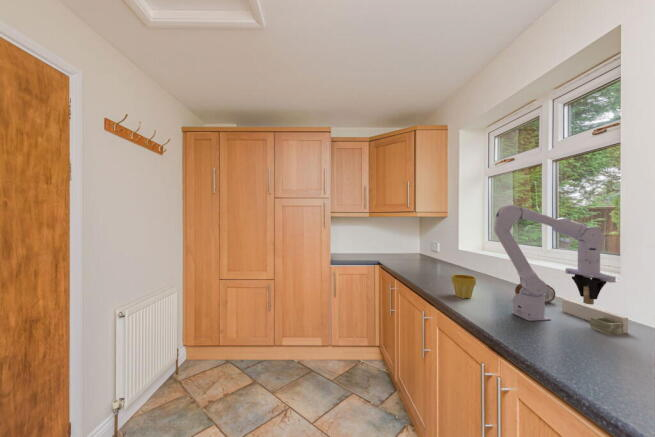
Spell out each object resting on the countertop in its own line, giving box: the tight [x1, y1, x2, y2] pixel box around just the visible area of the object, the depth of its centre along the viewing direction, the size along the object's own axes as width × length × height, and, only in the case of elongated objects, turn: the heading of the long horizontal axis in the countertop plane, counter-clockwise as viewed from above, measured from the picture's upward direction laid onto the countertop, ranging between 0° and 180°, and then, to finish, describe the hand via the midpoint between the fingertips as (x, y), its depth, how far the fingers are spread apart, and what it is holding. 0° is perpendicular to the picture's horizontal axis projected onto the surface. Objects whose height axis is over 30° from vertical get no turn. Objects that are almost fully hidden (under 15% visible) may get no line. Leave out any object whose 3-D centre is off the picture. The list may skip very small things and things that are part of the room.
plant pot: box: [451, 273, 477, 299], centre depth 125 cm, size 10×10×10 cm
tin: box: [514, 282, 556, 304], centre depth 118 cm, size 15×3×8 cm, turn 77°
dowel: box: [582, 286, 595, 306], centre depth 93 cm, size 3×3×6 cm
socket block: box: [589, 317, 624, 335], centre depth 88 cm, size 5×5×4 cm
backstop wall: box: [561, 298, 629, 334], centre depth 96 cm, size 2×20×5 cm, turn 6°
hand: (588, 297), depth 93 cm, fingers closed on dowel, 3 cm apart
